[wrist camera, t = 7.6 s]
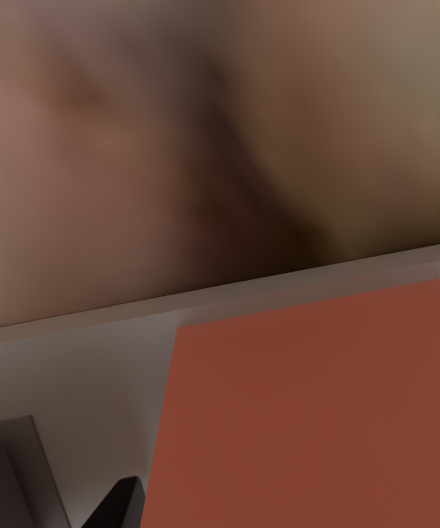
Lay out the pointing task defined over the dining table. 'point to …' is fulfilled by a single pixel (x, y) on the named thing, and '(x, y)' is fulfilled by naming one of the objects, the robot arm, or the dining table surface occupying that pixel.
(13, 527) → the block
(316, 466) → the cap
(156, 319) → the breaker panel
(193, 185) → the dining table surface
